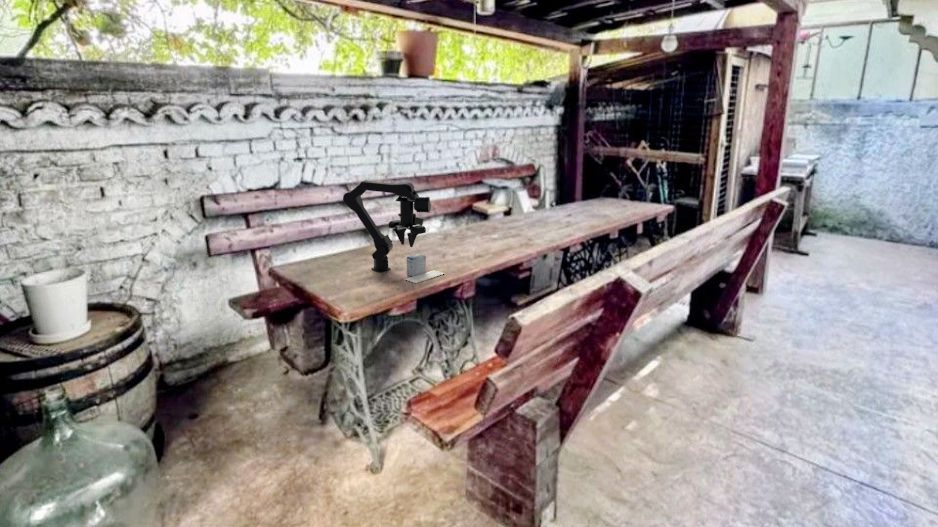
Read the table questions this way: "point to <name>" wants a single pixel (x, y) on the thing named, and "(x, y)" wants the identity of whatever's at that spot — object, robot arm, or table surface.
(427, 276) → the white rectangular board
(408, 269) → the medicine box
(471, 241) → the table surface
